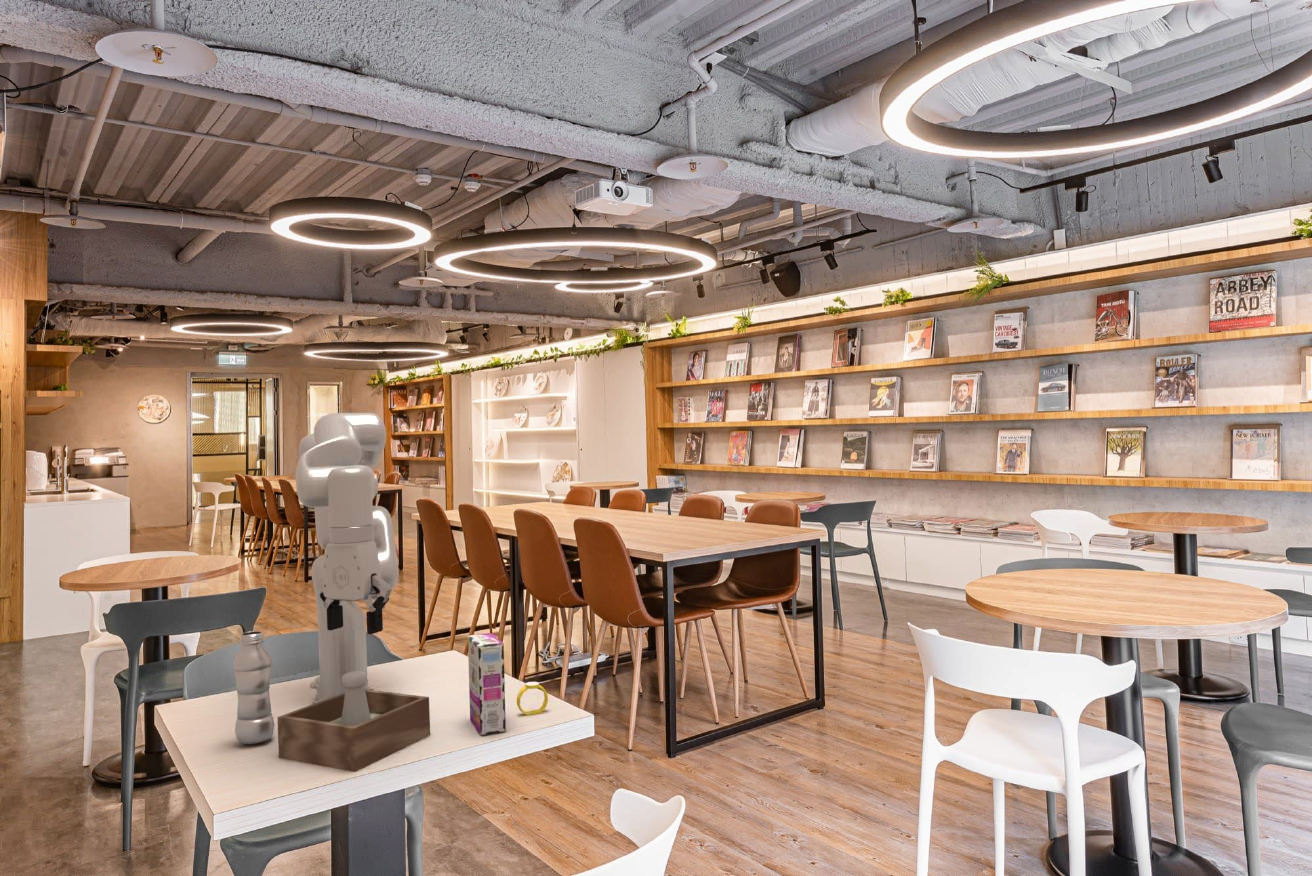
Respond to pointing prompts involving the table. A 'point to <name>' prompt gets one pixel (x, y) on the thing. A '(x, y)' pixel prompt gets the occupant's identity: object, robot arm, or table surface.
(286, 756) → the box
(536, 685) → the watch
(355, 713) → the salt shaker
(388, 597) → the robot arm
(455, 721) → the table surface
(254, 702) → the plastic bottle
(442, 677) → the table surface
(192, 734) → the table surface
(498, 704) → the candy bar box
